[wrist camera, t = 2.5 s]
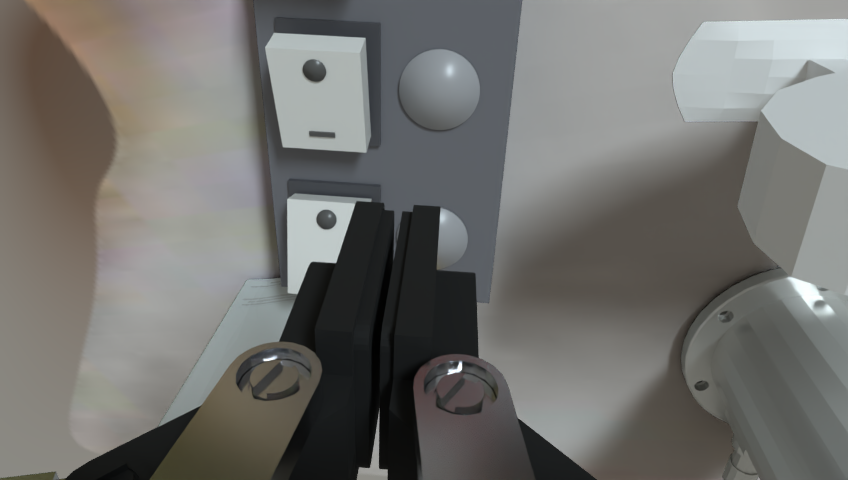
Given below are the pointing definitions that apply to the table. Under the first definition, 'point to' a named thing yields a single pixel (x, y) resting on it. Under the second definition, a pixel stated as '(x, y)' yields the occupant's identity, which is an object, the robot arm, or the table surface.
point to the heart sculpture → (781, 133)
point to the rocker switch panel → (410, 117)
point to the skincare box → (235, 339)
